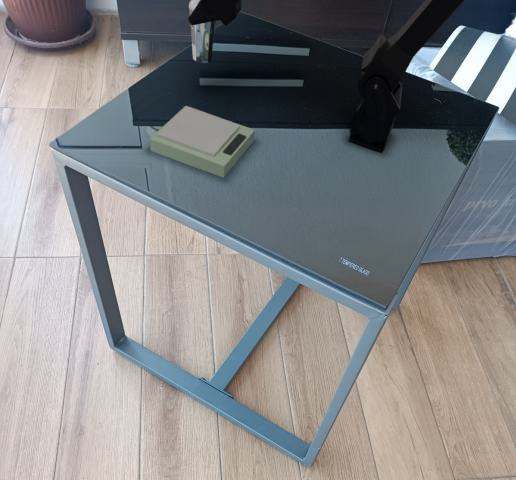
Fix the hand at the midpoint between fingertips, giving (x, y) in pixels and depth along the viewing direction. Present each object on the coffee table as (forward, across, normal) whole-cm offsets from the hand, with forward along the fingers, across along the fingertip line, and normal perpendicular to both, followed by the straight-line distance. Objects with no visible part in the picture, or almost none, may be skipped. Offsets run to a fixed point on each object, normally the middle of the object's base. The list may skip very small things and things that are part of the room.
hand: (194, 15), depth 80 cm
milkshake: (+4, 0, +6) cm, 7 cm away
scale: (+5, +14, +14) cm, 21 cm away
